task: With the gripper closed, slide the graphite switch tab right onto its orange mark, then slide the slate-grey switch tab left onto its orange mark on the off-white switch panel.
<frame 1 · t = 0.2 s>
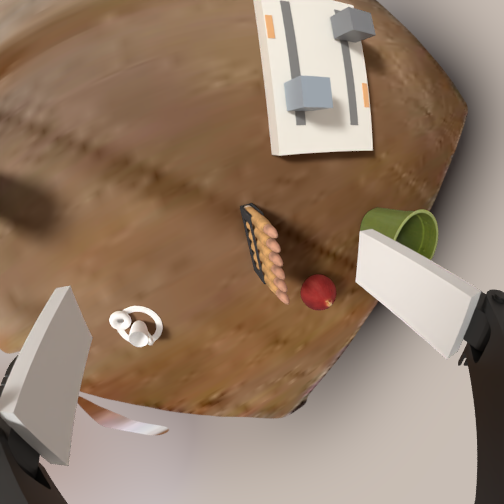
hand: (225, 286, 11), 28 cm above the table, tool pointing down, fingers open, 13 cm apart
switch panel: (313, 70, 34), on the table
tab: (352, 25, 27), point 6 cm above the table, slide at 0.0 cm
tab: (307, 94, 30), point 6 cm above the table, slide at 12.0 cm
plant pot: (373, 225, 48), on the table
onion: (308, 281, 48), on the table
ammunition clip: (252, 237, 42), on the table
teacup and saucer: (137, 308, 41), on the table
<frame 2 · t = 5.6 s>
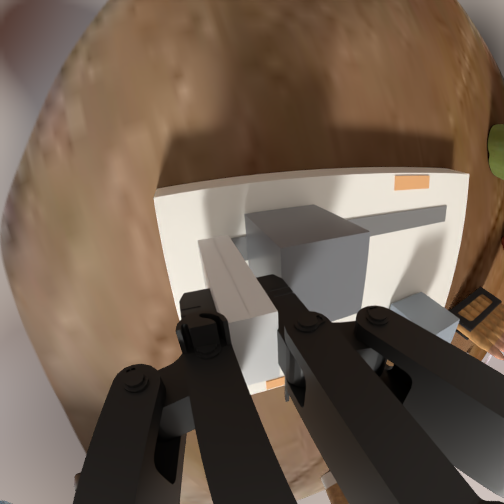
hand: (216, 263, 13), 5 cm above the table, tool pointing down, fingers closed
switch panel: (343, 268, 22), on the table
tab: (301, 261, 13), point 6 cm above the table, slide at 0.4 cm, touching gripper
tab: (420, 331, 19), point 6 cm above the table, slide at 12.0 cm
plant pot: (494, 150, 24), on the table
coffee cup: (332, 472, 45), on the table
onion: (501, 238, 31), on the table
ammunition clip: (462, 303, 32), on the table
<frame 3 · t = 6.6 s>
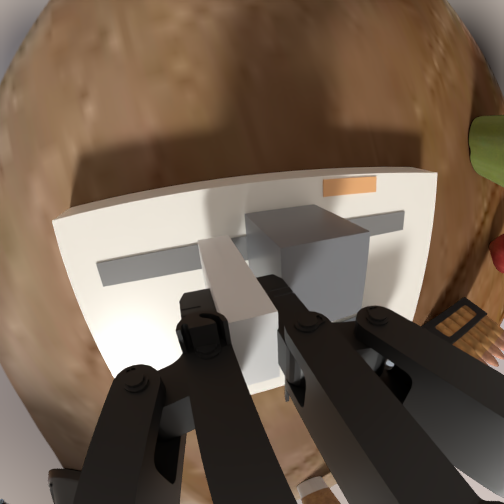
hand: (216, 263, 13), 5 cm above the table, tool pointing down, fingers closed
switch panel: (277, 283, 20), on the table
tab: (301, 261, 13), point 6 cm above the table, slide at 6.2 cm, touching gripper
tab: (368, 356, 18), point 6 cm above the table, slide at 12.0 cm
plant pot: (478, 145, 22), on the table
coffee cup: (308, 481, 43), on the table
onion: (488, 244, 30), on the table
ammunition clip: (442, 315, 31), on the table
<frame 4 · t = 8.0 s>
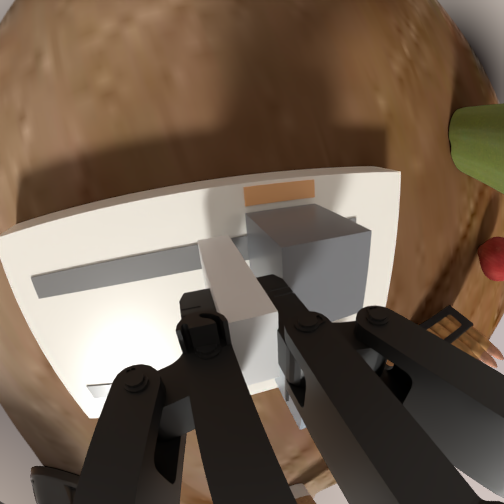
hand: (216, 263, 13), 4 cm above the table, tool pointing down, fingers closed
switch panel: (215, 296, 19), on the table
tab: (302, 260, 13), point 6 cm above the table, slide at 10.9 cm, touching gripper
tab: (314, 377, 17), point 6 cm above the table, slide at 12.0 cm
plant pot: (461, 140, 21), on the table
coffee cup: (290, 488, 42), on the table
onion: (477, 248, 28), on the table
ammunition clip: (423, 325, 30), on the table
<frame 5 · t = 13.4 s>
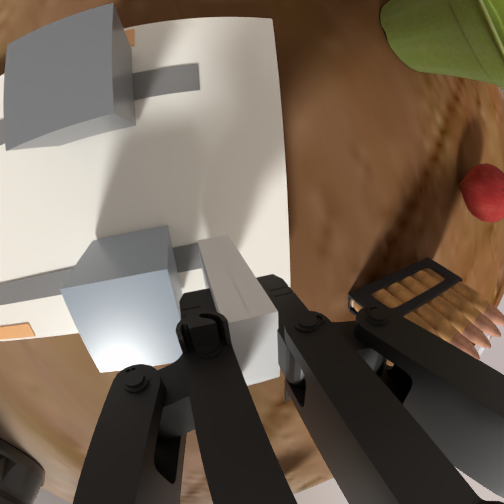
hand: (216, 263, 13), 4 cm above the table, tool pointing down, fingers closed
switch panel: (59, 192, 13), on the table
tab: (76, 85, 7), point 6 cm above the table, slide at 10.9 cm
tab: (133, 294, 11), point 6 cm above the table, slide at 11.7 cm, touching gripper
plant pot: (406, 36, 15), on the table
onion: (459, 183, 23), on the table
ammunition clip: (391, 280, 24), on the table
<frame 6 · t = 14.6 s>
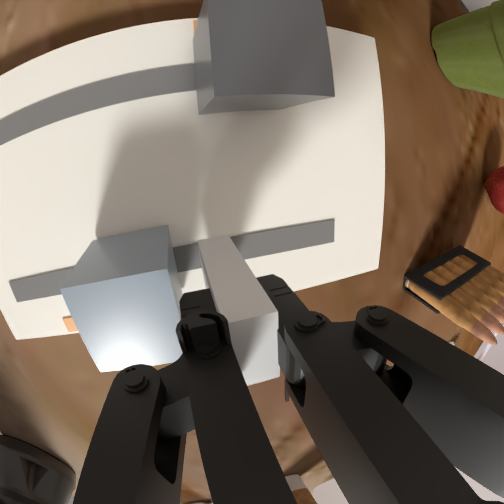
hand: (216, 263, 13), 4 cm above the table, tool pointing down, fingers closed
switch panel: (165, 167, 15), on the table
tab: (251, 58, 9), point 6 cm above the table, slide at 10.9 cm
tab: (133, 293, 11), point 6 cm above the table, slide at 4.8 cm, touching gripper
plant pot: (448, 56, 17), on the table
coffee cup: (284, 479, 38), on the table
onion: (483, 182, 24), on the table
ammunition clip: (433, 265, 25), on the table
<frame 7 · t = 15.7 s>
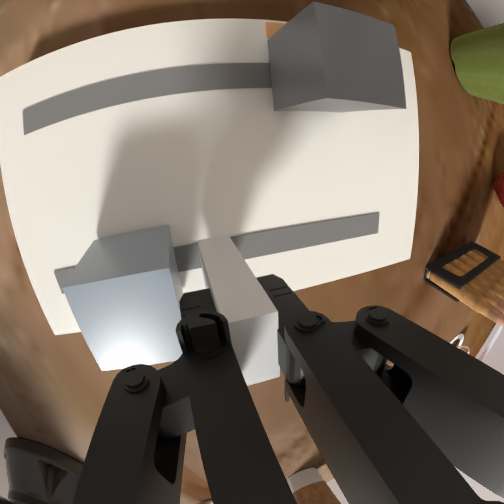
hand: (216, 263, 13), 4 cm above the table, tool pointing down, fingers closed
switch panel: (227, 159, 16), on the table
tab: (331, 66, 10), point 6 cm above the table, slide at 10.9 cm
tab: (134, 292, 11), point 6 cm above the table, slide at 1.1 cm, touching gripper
plant pot: (463, 66, 18), on the table
coffee cup: (301, 473, 39), on the table
onion: (492, 183, 25), on the table
ammunition clip: (449, 258, 26), on the table
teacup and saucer: (439, 354, 36), on the table
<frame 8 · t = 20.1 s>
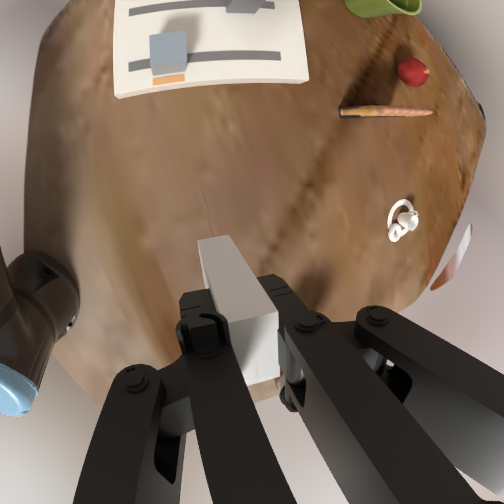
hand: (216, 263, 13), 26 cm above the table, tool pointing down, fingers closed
switch panel: (209, 35, 29), on the table
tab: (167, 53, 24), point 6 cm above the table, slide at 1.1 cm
plant pot: (356, 3, 31), on the table
coffee cup: (277, 343, 53), on the table
onion: (398, 74, 38), on the table
ammunition clip: (363, 112, 40), on the table
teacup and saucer: (389, 215, 50), on the table
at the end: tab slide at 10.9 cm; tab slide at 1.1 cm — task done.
